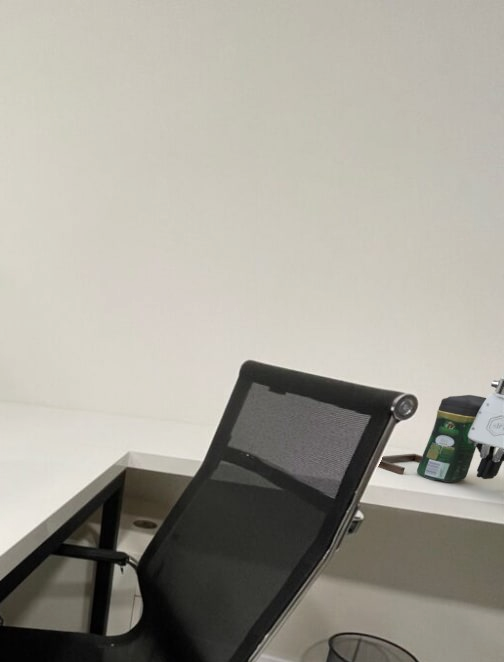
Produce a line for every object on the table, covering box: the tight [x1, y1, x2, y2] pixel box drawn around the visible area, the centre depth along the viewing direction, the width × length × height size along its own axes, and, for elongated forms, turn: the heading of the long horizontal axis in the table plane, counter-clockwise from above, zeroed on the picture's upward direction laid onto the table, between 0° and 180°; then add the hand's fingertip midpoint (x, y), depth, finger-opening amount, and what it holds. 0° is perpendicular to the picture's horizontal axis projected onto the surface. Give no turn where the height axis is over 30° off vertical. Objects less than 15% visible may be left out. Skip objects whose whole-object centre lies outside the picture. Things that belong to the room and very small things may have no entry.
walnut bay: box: [378, 453, 423, 475], centre depth 131 cm, size 8×16×2 cm, turn 111°
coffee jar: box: [416, 394, 487, 483], centre depth 121 cm, size 10×8×19 cm
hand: (484, 477), depth 117 cm, fingers closed
